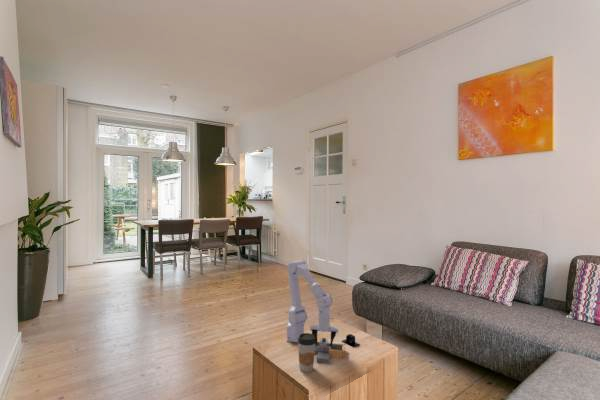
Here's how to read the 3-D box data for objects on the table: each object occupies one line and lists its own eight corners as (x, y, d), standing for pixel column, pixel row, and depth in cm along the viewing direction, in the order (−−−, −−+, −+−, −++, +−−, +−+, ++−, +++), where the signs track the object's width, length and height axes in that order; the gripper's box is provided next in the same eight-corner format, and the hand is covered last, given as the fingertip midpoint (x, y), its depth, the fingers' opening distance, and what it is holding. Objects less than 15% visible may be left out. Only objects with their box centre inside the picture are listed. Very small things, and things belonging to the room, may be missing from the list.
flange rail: (310, 354, 160) (311, 348, 160) (313, 347, 168) (313, 341, 168) (343, 358, 157) (343, 351, 157) (344, 350, 165) (344, 344, 165)
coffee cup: (299, 374, 142) (299, 341, 142) (295, 364, 150) (296, 333, 150) (317, 372, 143) (317, 339, 143) (312, 363, 152) (313, 332, 152)
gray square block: (316, 362, 153) (316, 358, 153) (318, 356, 159) (318, 352, 159) (329, 363, 152) (329, 359, 152) (330, 357, 158) (330, 353, 158)
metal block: (319, 349, 161) (319, 340, 161) (320, 346, 165) (320, 336, 165) (327, 350, 160) (327, 340, 160) (327, 347, 164) (328, 337, 164)
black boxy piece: (338, 341, 177) (338, 333, 177) (346, 338, 181) (347, 330, 181) (354, 350, 167) (355, 341, 167) (363, 346, 172) (364, 337, 172)
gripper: (309, 320, 161) (308, 347, 161) (337, 323, 158) (337, 350, 158) (311, 315, 168) (310, 341, 168) (338, 317, 165) (338, 344, 165)
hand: (323, 345), depth 163 cm, fingers open, 7 cm apart
